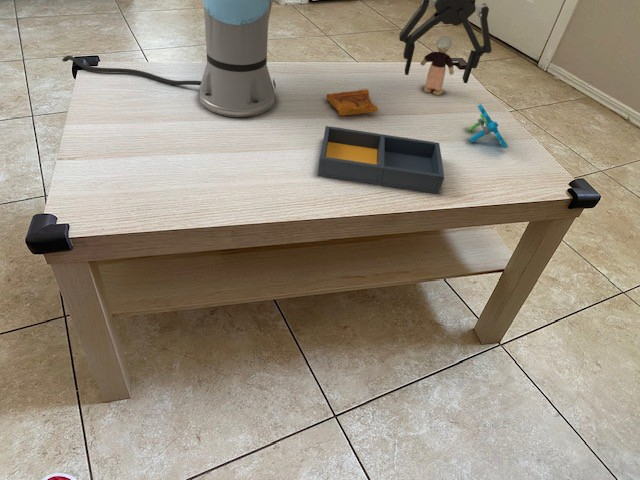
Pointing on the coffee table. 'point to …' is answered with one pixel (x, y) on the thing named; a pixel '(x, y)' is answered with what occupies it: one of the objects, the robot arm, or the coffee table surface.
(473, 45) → the robot arm
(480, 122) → the blue green toy windmill
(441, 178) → the divided tray
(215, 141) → the coffee table surface
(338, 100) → the pottery fragment
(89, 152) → the coffee table surface
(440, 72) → the grandmother figurine
